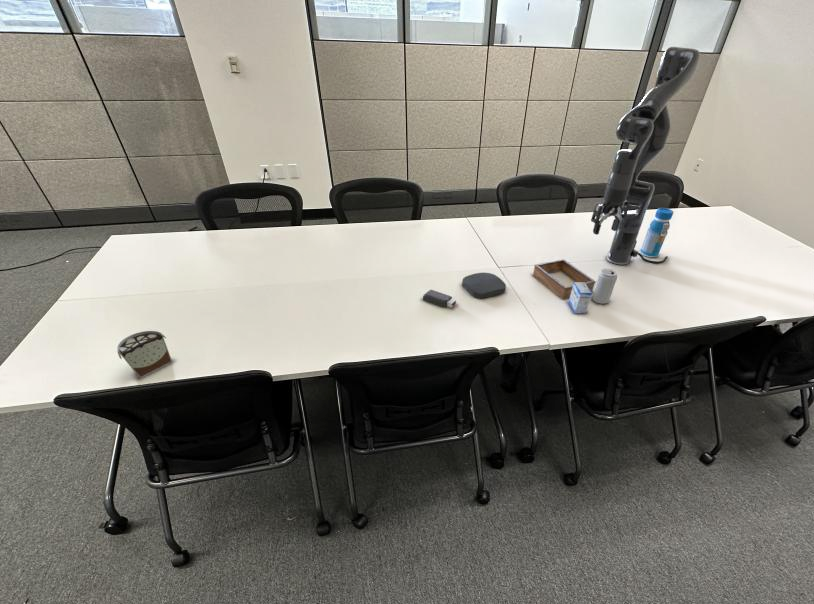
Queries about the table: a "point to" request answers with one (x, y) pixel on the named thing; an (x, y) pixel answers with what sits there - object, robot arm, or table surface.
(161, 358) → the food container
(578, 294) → the medicine box
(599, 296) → the beverage can
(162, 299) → the table surface
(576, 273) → the wooden tray
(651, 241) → the beverage bottle
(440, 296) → the usb drive
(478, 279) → the media streaming box
